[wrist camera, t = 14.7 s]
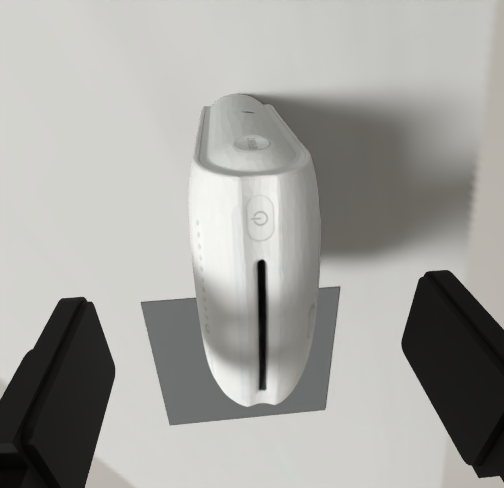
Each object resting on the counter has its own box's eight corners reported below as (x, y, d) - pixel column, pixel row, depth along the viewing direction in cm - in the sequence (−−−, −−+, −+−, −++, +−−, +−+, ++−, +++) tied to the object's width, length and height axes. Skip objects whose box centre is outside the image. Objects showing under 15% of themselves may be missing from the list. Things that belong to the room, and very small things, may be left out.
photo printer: (193, 92, 19) (167, 175, 8) (276, 89, 19) (356, 166, 8) (209, 259, 24) (206, 444, 13) (274, 255, 24) (321, 432, 14)
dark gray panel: (141, 301, 25) (140, 303, 25) (338, 285, 26) (339, 287, 26) (169, 423, 32) (169, 425, 32) (324, 407, 33) (325, 410, 33)
